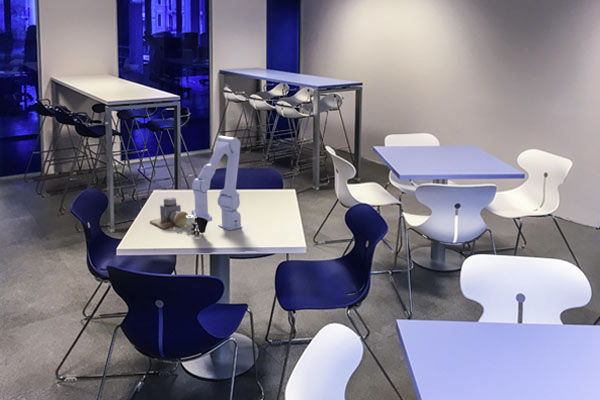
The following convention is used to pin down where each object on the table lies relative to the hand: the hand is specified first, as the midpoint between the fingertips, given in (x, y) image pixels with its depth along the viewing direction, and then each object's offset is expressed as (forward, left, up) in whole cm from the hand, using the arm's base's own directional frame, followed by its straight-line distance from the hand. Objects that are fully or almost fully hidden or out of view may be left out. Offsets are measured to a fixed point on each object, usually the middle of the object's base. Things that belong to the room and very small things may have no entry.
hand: (202, 232), depth 291 cm
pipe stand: (+27, 0, -2) cm, 27 cm away
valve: (+9, 0, -2) cm, 9 cm away
